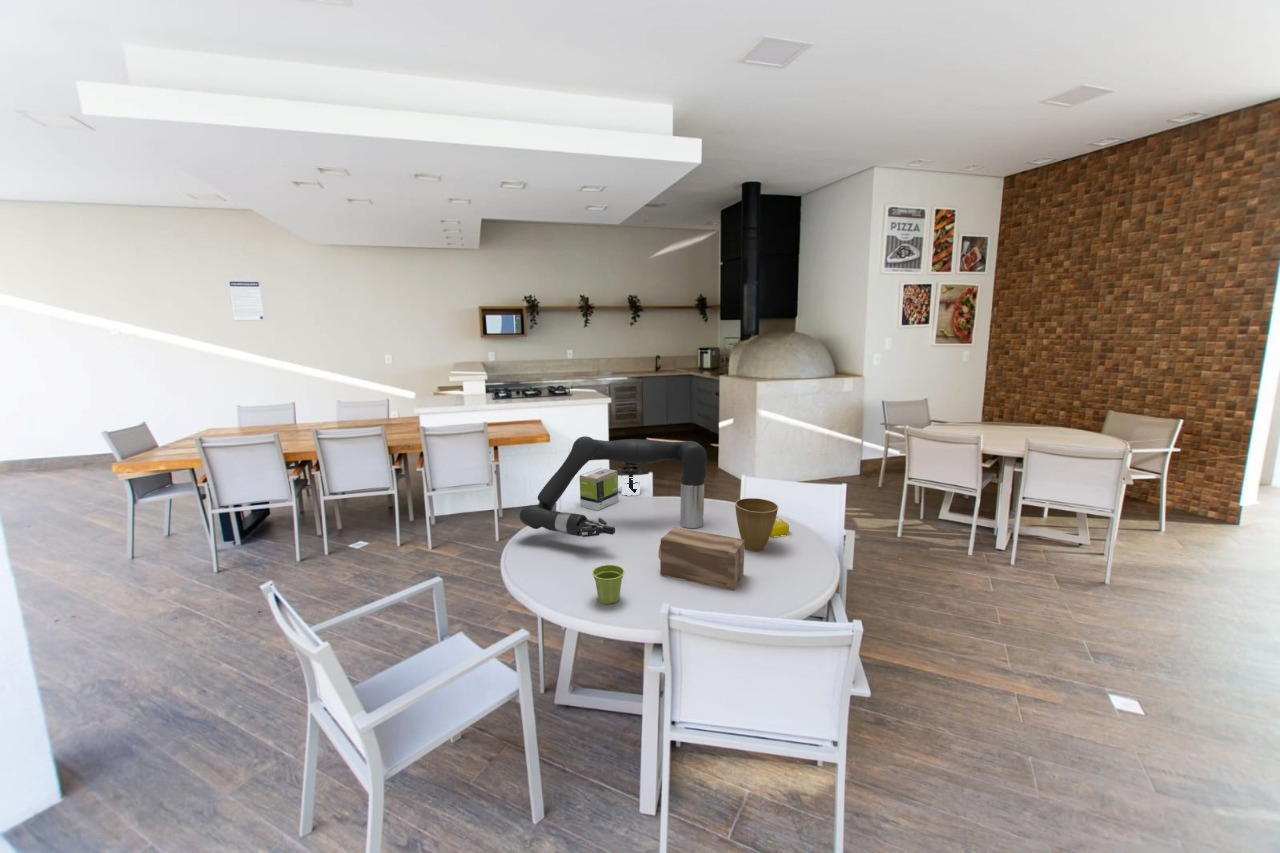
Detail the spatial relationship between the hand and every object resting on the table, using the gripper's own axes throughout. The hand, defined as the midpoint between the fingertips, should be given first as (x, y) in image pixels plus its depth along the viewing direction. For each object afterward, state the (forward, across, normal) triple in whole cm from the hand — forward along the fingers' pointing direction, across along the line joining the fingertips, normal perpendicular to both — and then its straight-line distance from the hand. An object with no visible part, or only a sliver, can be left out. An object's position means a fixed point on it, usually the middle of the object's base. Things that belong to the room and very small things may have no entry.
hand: (614, 531), depth 184 cm
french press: (-26, +65, +10) cm, 71 cm away
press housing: (+31, 0, +10) cm, 33 cm away
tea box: (-31, +45, +10) cm, 56 cm away
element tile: (+41, +46, +11) cm, 62 cm away
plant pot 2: (+42, +29, +10) cm, 52 cm away
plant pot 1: (+12, -27, +9) cm, 31 cm away
